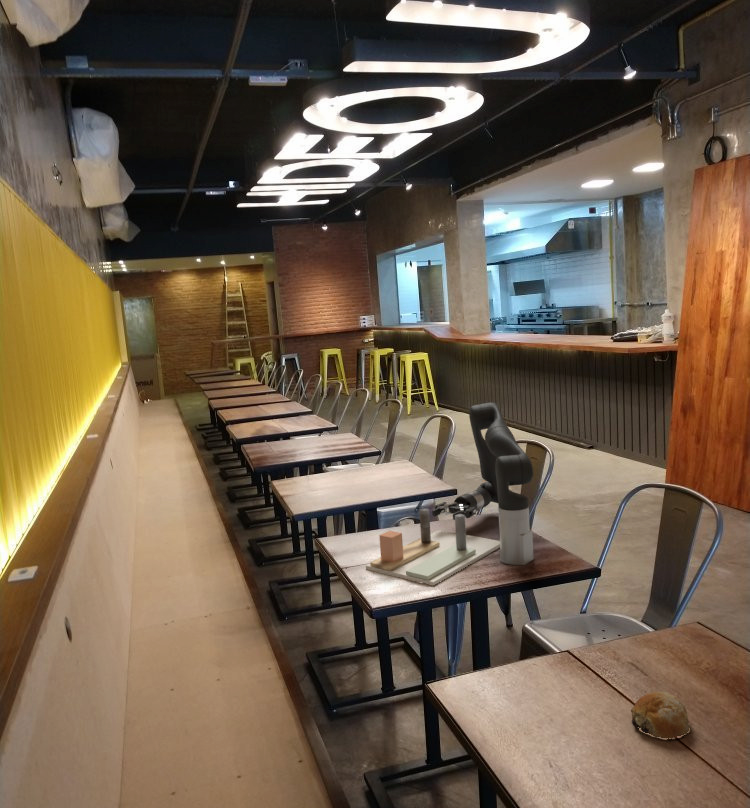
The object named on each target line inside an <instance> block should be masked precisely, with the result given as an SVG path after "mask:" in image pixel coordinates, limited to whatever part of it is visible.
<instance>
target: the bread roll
mask: <svg viewBox="0 0 750 808" xmlns="http://www.w3.org/2000/svg"><path fill="white" fill-rule="evenodd" d="M630 712H631V724H632V726H633V727H634V728H636V727H639V728H641V729H642V731H643V732H645V733H649V734H651V735H653V736H655V737H661V738H668V739H669V738H673V737H677V736H681V735H684V734H686V733H687V732H688V731H689V728H691V727H690V724H689V723H690V722H689V719H688V712H687V709H686V706H685V704H684V703H683V701H682V700H681V699H679V697H677V696H675V695H673V694H671V693H670V692H667V691H655V692H649V693H646V694H645V695H643V696H641V697H639V698H638V699H637V700H636V702H635V703H634V705H633V707H632V708H631V709H630ZM687 734H688V733H687Z"/></svg>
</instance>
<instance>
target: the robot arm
mask: <svg viewBox="0 0 750 808" xmlns="http://www.w3.org/2000/svg"><path fill="white" fill-rule="evenodd" d="M468 417H469V422H470V427H471V432H472V436H473V440H474V444H475V447H476V451H477V455H478V460H479V466H480V467H479V468H480V474H481V478H482V480H484V481H486V482H483V483H480V485H478V488H476V489H475V490H472V491H469V492H466V493H464V494H461V495H459V496H457V497H456V499H455V500H454V501H453V502H451V503H447V502H446V501H443V502H440V503H437V504H435V505H434V509H433V510H432V513H431V514H432V517H437V516H439V515H442V514H444V515H452V520H453V521H455V515H458V514H462V515H465V519H470V518H472V517H473V516H475V515H477V512H478V511H480V510H481V509H484V508H486V507H488V506H489V505H490V503H496V504H497V505H498V507H497V508H498V527H499V528H498V530H499V533H498V534H499V541H500V548H499V550H500V552H499V554H500V561H501V563H503V564H507V565H513V566H516V565H517V566H519V565H520V566H525V565H527V564H529V563H530V562H531V561H533V560H534V541H533V540H534V539H533V538H534V537H533V530H532V529H530V508H529V507H530V505H529V504H530V503H529V498H528V497H527V496H526V495H525V494H521V493H519V492H515V491H513V490H511V489H510V486H511V487H512V486H522V485H527V484H529V483H531V482H532V480H533V478H534V468H533V464H532V462H531V459H530V457H529V456H528V454H526V452H525V451H524V450H523V449H522V448H521V447H520V445H519V443H518V442H517V440H516V438H515V436H514V434H513V433H512V431H511V430H510V428H509V427H508V425H507V423H506V422H505V421H506V420H505V419H504V417H503V414H502V412H501V409H500V407H499V405H498V404H497V403H496V402H486V403H479V404H475V405H471V406H470V407H469V411H468ZM483 430H486V432H485V434H484V437H483V434H482V431H483Z"/></svg>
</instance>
